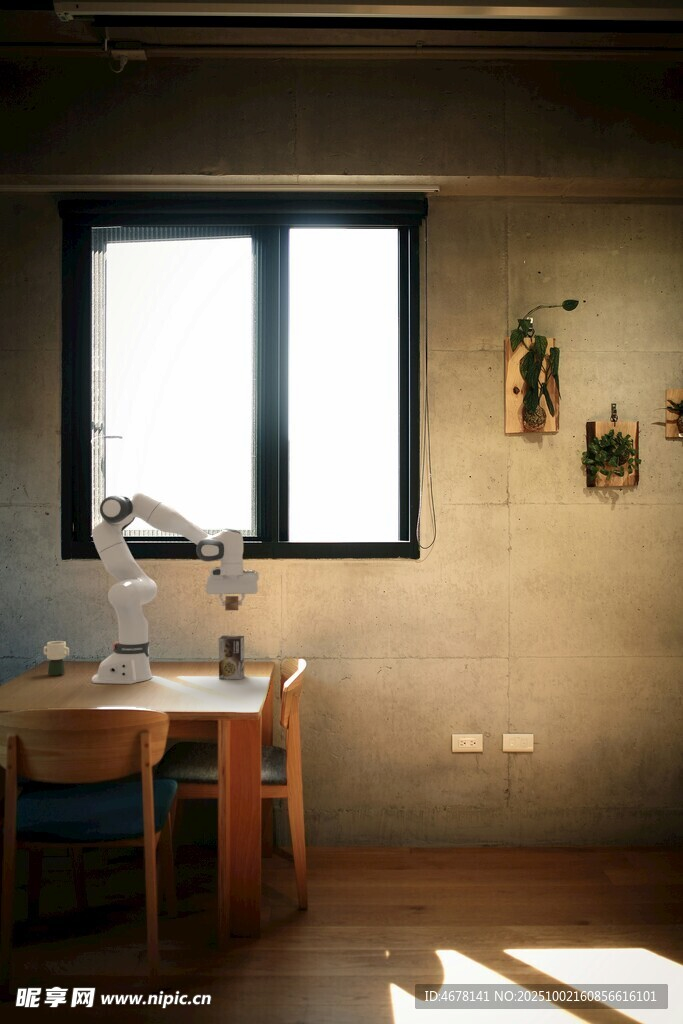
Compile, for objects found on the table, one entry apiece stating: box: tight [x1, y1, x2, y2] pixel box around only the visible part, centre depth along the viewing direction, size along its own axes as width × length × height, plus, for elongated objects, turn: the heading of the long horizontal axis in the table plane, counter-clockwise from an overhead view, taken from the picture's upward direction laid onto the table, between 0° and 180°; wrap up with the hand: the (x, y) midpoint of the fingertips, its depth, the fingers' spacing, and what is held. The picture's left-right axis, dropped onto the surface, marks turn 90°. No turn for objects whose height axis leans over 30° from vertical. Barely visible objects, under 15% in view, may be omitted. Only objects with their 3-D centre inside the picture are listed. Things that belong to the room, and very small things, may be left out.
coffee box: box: [218, 635, 245, 680], centre depth 298 cm, size 9×6×16 cm
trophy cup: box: [43, 640, 70, 676], centre depth 300 cm, size 11×7×13 cm, turn 80°
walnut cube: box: [224, 595, 239, 611], centre depth 298 cm, size 5×5×5 cm
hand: (231, 605), depth 298 cm, fingers closed on walnut cube, 5 cm apart
